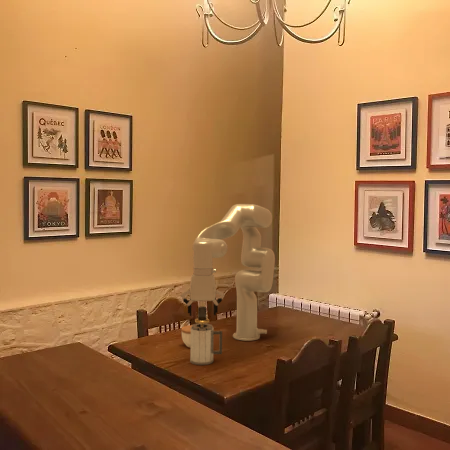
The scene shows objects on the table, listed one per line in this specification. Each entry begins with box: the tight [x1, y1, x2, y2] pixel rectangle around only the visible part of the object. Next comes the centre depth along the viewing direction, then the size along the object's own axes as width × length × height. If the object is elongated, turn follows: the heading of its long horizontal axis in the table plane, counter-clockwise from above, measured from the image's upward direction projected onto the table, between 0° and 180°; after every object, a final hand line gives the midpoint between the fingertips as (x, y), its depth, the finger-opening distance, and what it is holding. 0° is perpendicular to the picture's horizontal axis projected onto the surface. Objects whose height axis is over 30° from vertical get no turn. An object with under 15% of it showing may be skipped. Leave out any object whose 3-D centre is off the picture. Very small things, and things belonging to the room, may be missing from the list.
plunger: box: [194, 305, 210, 327], centre depth 198 cm, size 6×6×20 cm
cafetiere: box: [189, 323, 223, 366], centre depth 199 cm, size 13×9×14 cm
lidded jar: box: [180, 324, 193, 349], centre depth 220 cm, size 11×11×9 cm
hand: (202, 314), depth 198 cm, fingers open, 9 cm apart
